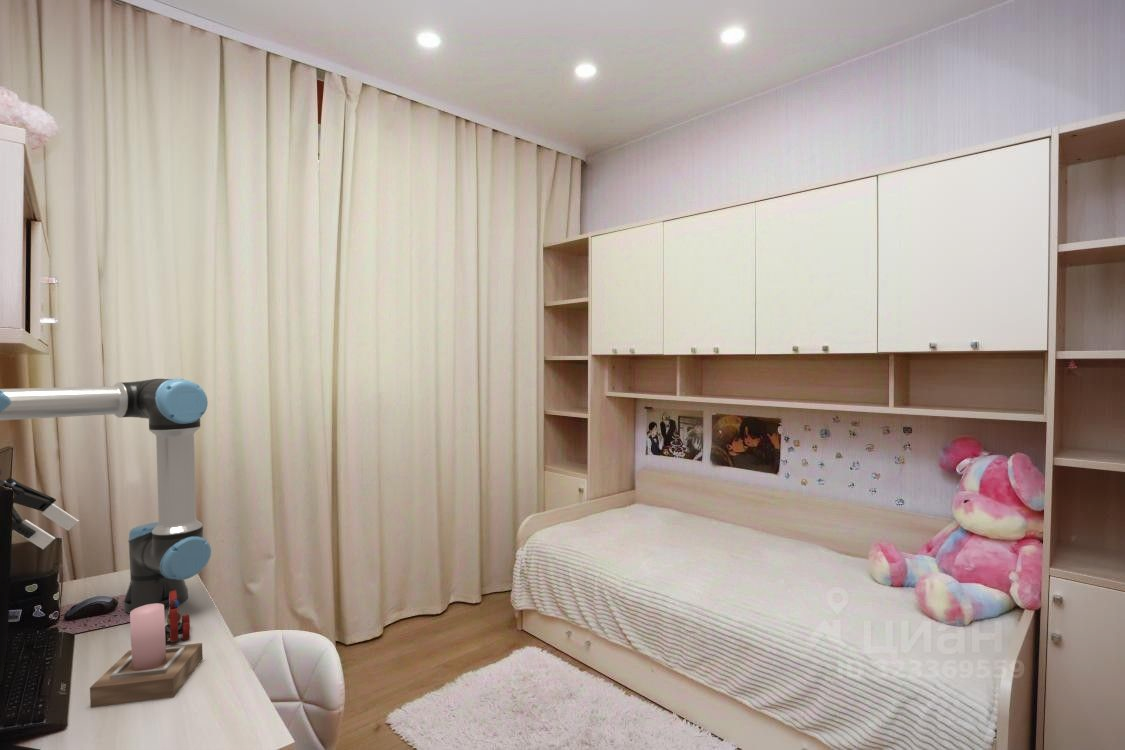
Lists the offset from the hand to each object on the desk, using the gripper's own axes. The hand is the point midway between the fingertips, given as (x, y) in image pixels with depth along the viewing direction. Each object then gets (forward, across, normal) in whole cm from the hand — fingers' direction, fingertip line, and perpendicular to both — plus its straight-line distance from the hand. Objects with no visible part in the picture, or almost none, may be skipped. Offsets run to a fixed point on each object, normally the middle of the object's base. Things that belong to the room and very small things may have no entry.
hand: (62, 534), depth 127 cm
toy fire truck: (+35, -10, -10) cm, 38 cm away
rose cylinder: (+32, +11, -7) cm, 34 cm away
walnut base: (+35, +11, -10) cm, 38 cm away
